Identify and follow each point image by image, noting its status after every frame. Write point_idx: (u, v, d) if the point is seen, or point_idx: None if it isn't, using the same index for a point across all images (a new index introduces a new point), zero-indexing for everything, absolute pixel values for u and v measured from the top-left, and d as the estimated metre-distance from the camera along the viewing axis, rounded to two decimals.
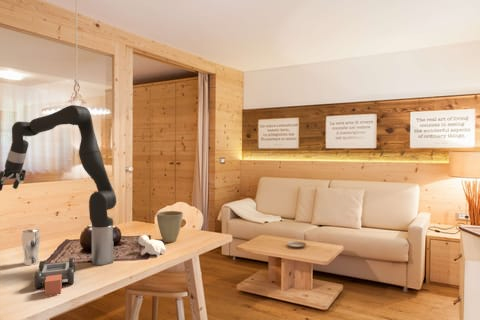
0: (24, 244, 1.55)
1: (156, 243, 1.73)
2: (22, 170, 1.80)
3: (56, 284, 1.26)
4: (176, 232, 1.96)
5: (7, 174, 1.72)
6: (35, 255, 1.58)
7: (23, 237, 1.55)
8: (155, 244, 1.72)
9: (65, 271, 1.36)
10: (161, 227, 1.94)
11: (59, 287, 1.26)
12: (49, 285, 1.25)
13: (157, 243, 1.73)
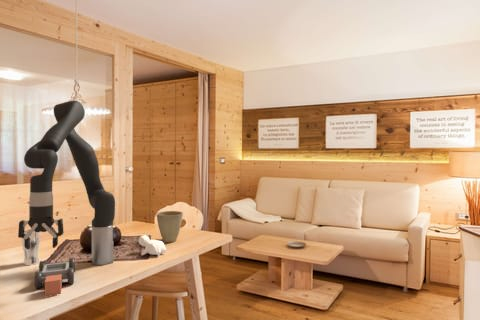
0: None
1: (157, 243, 1.72)
2: None
3: (56, 284, 1.26)
4: (176, 232, 1.96)
5: None
6: (35, 255, 1.58)
7: None
8: (156, 244, 1.72)
9: (65, 271, 1.36)
10: (161, 227, 1.94)
11: (59, 287, 1.26)
12: (49, 285, 1.25)
13: (158, 243, 1.72)
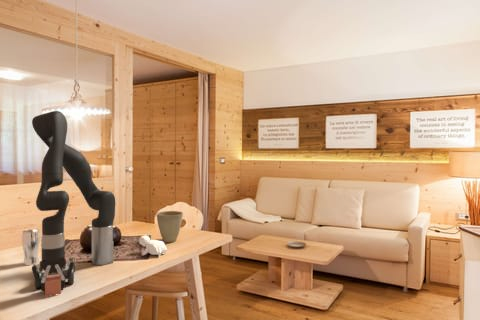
0: (24, 244, 1.55)
1: (157, 243, 1.72)
2: None
3: (56, 283, 1.26)
4: (176, 232, 1.96)
5: None
6: (35, 255, 1.58)
7: (23, 237, 1.55)
8: (156, 244, 1.71)
9: (65, 271, 1.36)
10: (161, 227, 1.94)
11: (59, 287, 1.26)
12: (49, 285, 1.25)
13: (158, 243, 1.72)
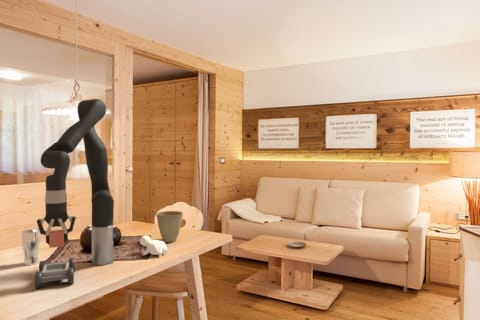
0: (24, 244, 1.55)
1: (158, 243, 1.72)
2: None
3: (60, 236, 1.36)
4: (176, 232, 1.96)
5: None
6: (35, 255, 1.58)
7: (23, 237, 1.55)
8: (157, 244, 1.71)
9: (65, 271, 1.36)
10: (161, 227, 1.94)
11: (62, 239, 1.36)
12: (53, 237, 1.35)
13: (159, 244, 1.72)
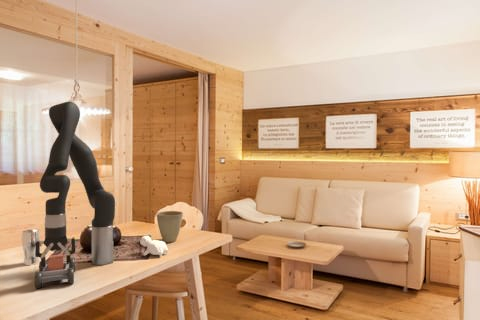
0: (24, 244, 1.55)
1: (159, 243, 1.72)
2: (40, 241, 1.37)
3: (59, 262, 1.37)
4: (176, 232, 1.96)
5: None
6: None
7: (23, 237, 1.55)
8: (158, 244, 1.71)
9: (65, 271, 1.36)
10: (161, 227, 1.94)
11: (61, 265, 1.37)
12: (52, 263, 1.36)
13: (160, 244, 1.72)
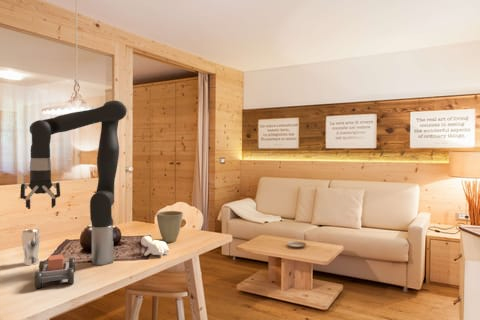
0: (24, 244, 1.55)
1: (160, 244, 1.72)
2: (26, 184, 1.42)
3: (59, 262, 1.37)
4: (176, 232, 1.96)
5: None
6: (35, 255, 1.58)
7: (23, 237, 1.55)
8: (159, 245, 1.71)
9: (65, 271, 1.36)
10: (161, 227, 1.94)
11: (61, 265, 1.37)
12: (52, 263, 1.36)
13: (161, 244, 1.72)
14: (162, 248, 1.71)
